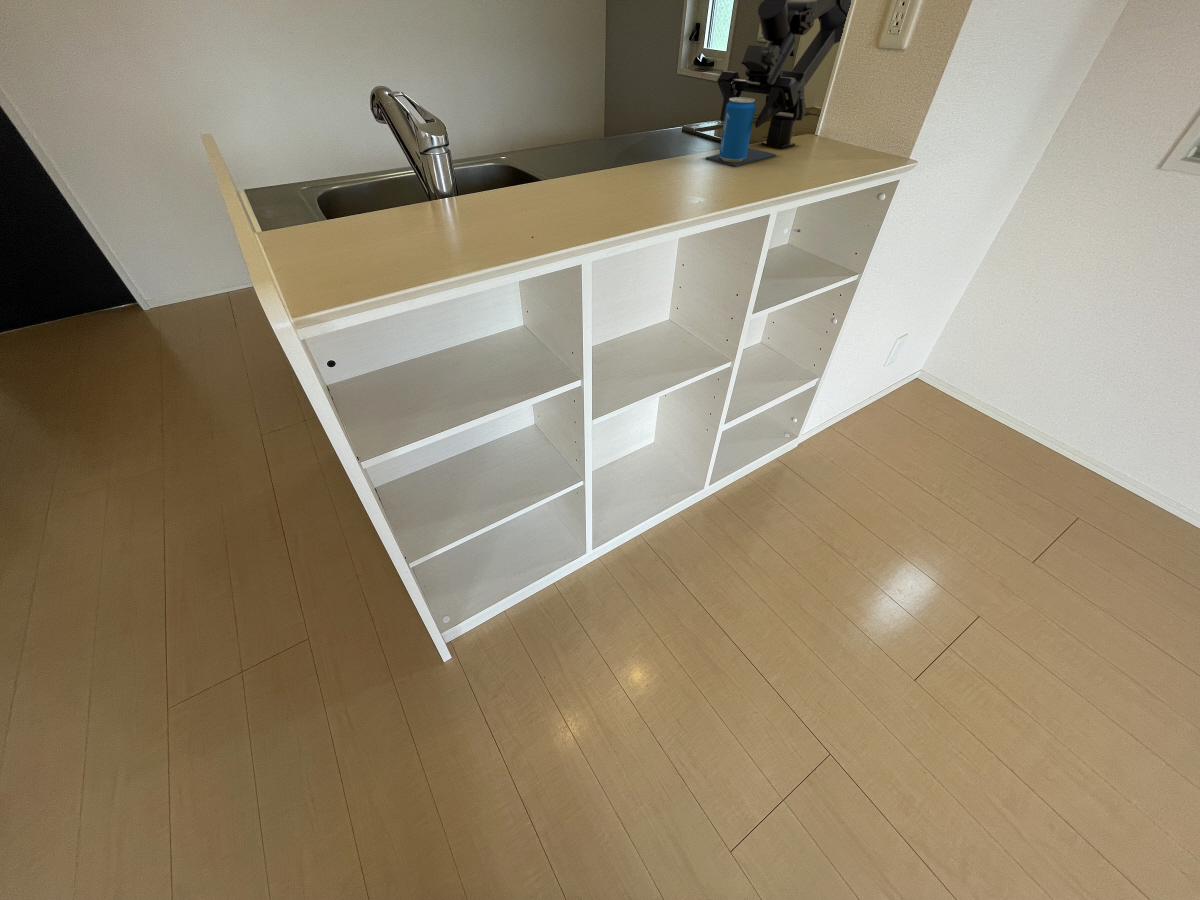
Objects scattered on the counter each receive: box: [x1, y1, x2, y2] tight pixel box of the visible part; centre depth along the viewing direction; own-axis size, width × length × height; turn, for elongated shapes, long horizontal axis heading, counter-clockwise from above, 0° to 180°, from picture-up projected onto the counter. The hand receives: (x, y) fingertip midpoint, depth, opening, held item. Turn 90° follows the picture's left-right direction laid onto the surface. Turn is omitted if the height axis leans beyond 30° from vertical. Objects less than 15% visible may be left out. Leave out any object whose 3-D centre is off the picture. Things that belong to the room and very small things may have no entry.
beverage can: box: [718, 96, 756, 162], centre depth 117 cm, size 6×6×12 cm
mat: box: [705, 147, 777, 168], centre depth 124 cm, size 16×9×1 cm, turn 130°
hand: (738, 123), depth 116 cm, fingers open, 9 cm apart
